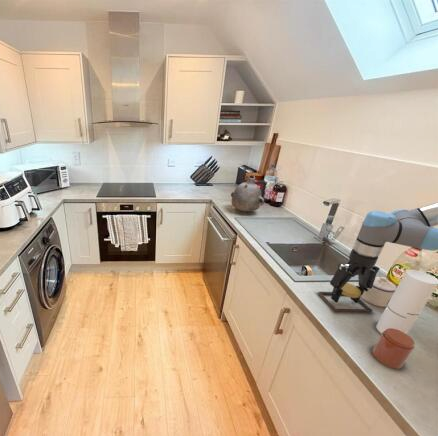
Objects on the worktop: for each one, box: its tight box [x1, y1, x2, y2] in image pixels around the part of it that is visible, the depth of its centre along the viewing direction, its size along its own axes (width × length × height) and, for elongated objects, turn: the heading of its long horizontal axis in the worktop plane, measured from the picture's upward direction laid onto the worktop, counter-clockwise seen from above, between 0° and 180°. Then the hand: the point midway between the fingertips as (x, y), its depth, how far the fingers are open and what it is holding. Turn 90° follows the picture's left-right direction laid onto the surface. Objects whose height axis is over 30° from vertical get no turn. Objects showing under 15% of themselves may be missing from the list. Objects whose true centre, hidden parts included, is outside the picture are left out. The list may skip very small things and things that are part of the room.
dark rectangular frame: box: [317, 291, 373, 314], centre depth 96 cm, size 14×10×2 cm
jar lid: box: [341, 282, 361, 298], centre depth 93 cm, size 7×7×2 cm
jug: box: [230, 174, 265, 213], centre depth 184 cm, size 24×21×30 cm
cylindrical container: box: [375, 269, 438, 335], centre depth 78 cm, size 7×7×25 cm
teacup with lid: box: [360, 276, 397, 308], centre depth 97 cm, size 12×9×12 cm
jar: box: [372, 328, 415, 370], centre depth 72 cm, size 7×7×10 cm
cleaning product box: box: [242, 179, 268, 203], centre depth 205 cm, size 16×9×20 cm, turn 88°
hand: (343, 300), depth 96 cm, fingers closed on jar lid, 7 cm apart
